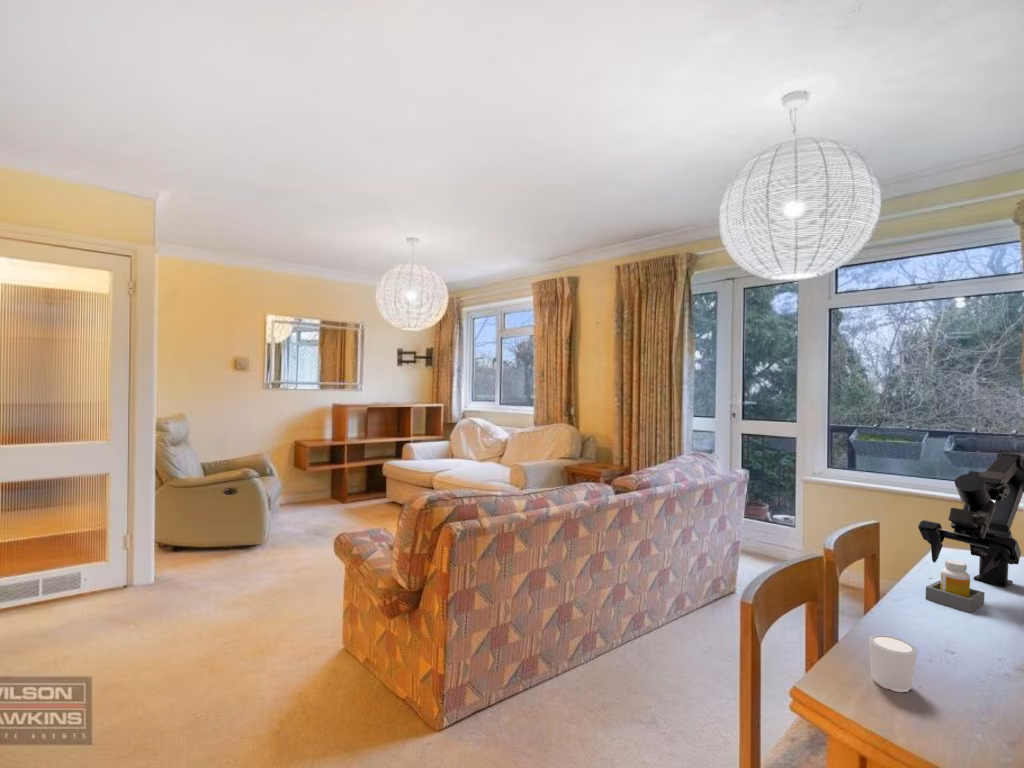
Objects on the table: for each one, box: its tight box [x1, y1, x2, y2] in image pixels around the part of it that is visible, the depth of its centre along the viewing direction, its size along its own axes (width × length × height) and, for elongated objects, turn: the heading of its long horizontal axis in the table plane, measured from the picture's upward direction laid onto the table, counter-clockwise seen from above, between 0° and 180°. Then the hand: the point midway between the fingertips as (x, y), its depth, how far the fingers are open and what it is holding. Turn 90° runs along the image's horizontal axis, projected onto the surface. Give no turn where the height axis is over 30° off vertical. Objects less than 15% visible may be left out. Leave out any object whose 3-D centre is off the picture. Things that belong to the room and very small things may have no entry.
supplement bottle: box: [940, 559, 971, 598], centre depth 126 cm, size 5×5×10 cm
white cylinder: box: [868, 634, 918, 689], centre depth 91 cm, size 7×7×7 cm
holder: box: [925, 579, 985, 614], centre depth 126 cm, size 9×9×3 cm
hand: (956, 567), depth 126 cm, fingers open, 9 cm apart
